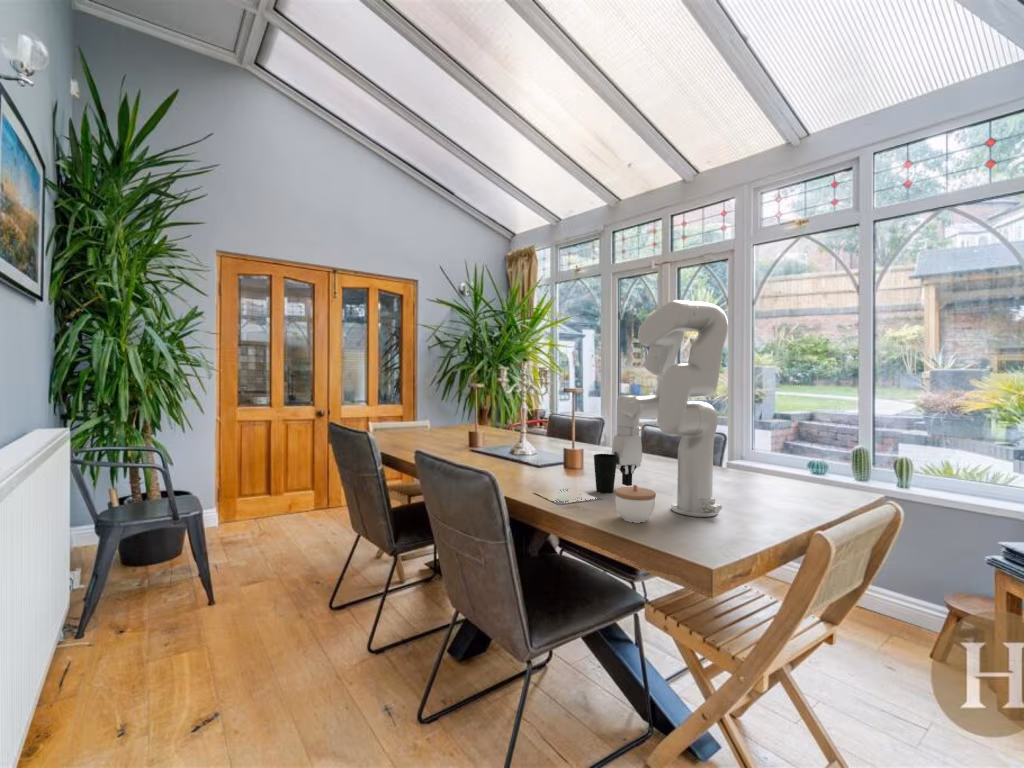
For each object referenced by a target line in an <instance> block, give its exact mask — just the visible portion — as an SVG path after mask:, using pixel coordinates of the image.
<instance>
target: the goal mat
mask: <svg viewBox="0 0 1024 768" xmlns="http://www.w3.org/2000/svg"><path fill="white" fill-rule="evenodd" d="M564 489H565V490H566V489H567V490H566V491H567V492H568V493H569V492H570V491H568V489H569V488H563V489H562V490H563V491H564ZM559 490H560V491H561V489H559ZM567 492H565V491H564V492H562V491H561V493H560V492H558V493H560V494H561V495H562V494H564V495H565V493H566V494H567ZM560 494H559V495H560ZM561 495H560V496H559V497H558V498H556V499H557V500H558V501H559V502H558V501H557V500H555V501H556V502H554V503H553V504H555V503H556V504H555V505H557V504H558V506H562V504H564V505H570V504H569V502H568V501H569V499H570V498H571V497H568V496H567V495H565V496H566V497H565V496H564V495H562V496H563V497H562V496H561ZM580 495H581V494H580ZM567 497H568V498H569V499H568V498H567ZM573 498H574V497H573ZM576 498H577V499H578V498H579V499H580V497H576ZM576 498H575V500H576ZM599 499H601V500H602V498H601V497H598V498H597V499H596V498H595V500H594V501H599ZM570 500H572V499H570ZM573 500H574V499H573ZM581 500H582V497H581ZM585 500H586V499H585ZM592 500H593V499H592ZM592 500H591V499H590V500H588V501H587V500H586V502H591V501H592ZM564 501H565V503H564ZM577 501H578V500H577ZM577 501H576V503H575V504H578V503H577ZM566 502H568V503H566ZM578 502H579V501H578ZM592 502H593V501H592ZM579 503H583V502H582V501H580V502H579Z"/></svg>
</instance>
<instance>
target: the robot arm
mask: <svg viewBox="0 0 1024 768" xmlns="http://www.w3.org/2000/svg"><path fill="white" fill-rule="evenodd" d="M727 317H728V316H727V315H726V313H725V311H724V310H723V309H722V308H721V307H719V306H718V305H716V304H713V303H710V302H704V301H695V300H683V299H676V300H671V301H668V302H666V303H664V305H662V306H661V307H660V308H658V309H657V310H655V311H654V312H653V313H651V314H650V315H649V316H647V317H646V318H645V319H644V320H643V321H642V323H641V324H640V326H639V328H638V331H637V340H638V341H639V343H640V344H641V345H642V346H644V347H648V348H649V349H648V351H647V354H646V357H645V359H644V363H643V367H644V368H645V369H646V370H647V371H648V372H649V373H651V374H653V375H655V376H656V377H657V378H658V379H657V380H658V386H657V389H656V392H655V394H654V395H632V394H623V395H618V397H617V399H616V434H615V435H614V437H613V441H612V446H611V454H612V455H616V456H617V463H616V470H619V471H620V473H621V478H622V479H621V482H622V483H621V484H622V485H623V486H625V487H633V474H634V473H635V470H636V469H637V468H640V467H642V466H641V463H642V462H643V445H642V444H643V443H642V438H641V435H640V432H641V431H642V428H641V427H640V420H643V419H644V420H645V419H657V424H658V427H659V429H660V431H661V432H662V433H663V434H664V435H666V436H669V437H681V438H680V441H679V444H678V448H677V479H676V480H677V488H676V489H677V490H676V494H677V495H676V502H673V503H672V504H671V507H670V509H671V510H672V511H673V512H674V513H677V514H680V515H682V516H688V517H696V518H698V517H699V518H706V517H708V518H709V517H713V516H716V515H718V514H719V513H720V511H722V509H723V506H722V505H721V504H718V503H716V498H715V497H713V486H714V485H713V484H714V483H713V481H714V480H713V478H714V476H713V475H714V446H715V445H714V444H715V438H716V436H715V435H716V431H717V428H718V423H719V422H718V421H719V418H718V414H717V410H716V409H715V407H714V406H713V405H711V404H710V403H708V402H704V401H699V400H698V401H695V400H694V401H693V400H692V401H691V400H690V401H689V399H690V398H691V399H694V398H695V399H696V398H707V397H711V396H712V395H714V394H715V392H716V391H717V388H718V383H719V377H720V371H721V364H722V358H723V349H724V346H725V344H726V343H725V342H726V339H727V335H728V332H729V331H728V330H729V321H728V318H727ZM685 332H696V333H698V335H697V336H696V337H695V339H693V341H692V343H691V346H690V349H689V354H688V355H689V357H688V360H687V363H676V364H674V363H675V361H676V359H677V356H678V353H679V350H680V347H681V345H682V342H683V339H684V335H685Z"/></svg>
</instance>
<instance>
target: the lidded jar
mask: <svg viewBox="0 0 1024 768" xmlns="http://www.w3.org/2000/svg"><path fill="white" fill-rule="evenodd" d="M614 495H615V497H614V498H615V500H614V502H615V506H616V510H617V512H618V514H619V515H620V516H621V517H622V519H624V520H623V521H624V522H627V521H628V523H632V522H634V523H633V524H641V523H640V522H643V523H646V522H647V520H648V519H649V518H650V517H651V516H652V515H653V513H654V510H655V506H656V497H657V495H656V492H655V491H654V490H652V489H650V488H645V487H638V484H632V486H622V487H618V488H616V489H615V490H614ZM645 521H646V522H645Z"/></svg>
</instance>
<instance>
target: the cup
mask: <svg viewBox="0 0 1024 768" xmlns="http://www.w3.org/2000/svg"><path fill="white" fill-rule="evenodd" d="M593 463H594V475H595V476H594V477H595V479H594V480H595V491H596V493H599V492H600V493H599V494H605V493H609V494H612V492H613V493H614V492H615V490H614V489H615V481H616V471H617V469H616V463H617V456H616V455H612V453H596V454H593Z"/></svg>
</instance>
